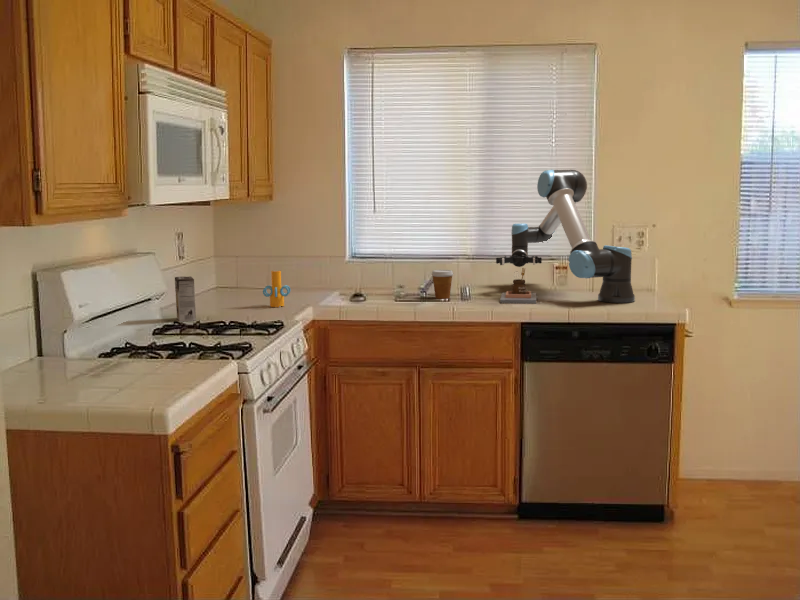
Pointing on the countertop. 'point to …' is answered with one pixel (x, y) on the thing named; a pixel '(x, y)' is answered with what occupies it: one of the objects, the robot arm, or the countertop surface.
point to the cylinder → (276, 290)
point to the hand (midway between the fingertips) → (518, 261)
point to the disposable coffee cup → (442, 283)
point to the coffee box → (185, 298)
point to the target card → (518, 298)
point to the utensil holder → (519, 285)
